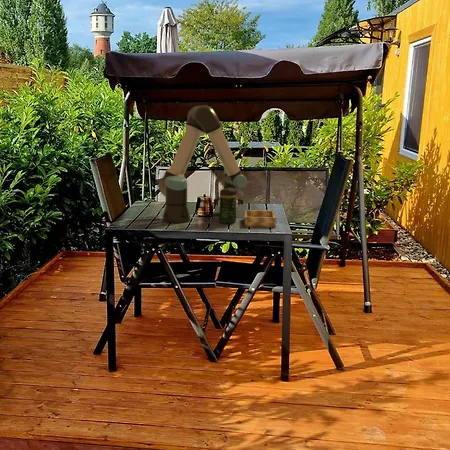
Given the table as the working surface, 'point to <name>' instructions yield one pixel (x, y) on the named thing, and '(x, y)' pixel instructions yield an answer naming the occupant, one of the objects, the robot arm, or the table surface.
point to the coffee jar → (228, 205)
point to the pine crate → (260, 218)
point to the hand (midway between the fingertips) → (227, 204)
